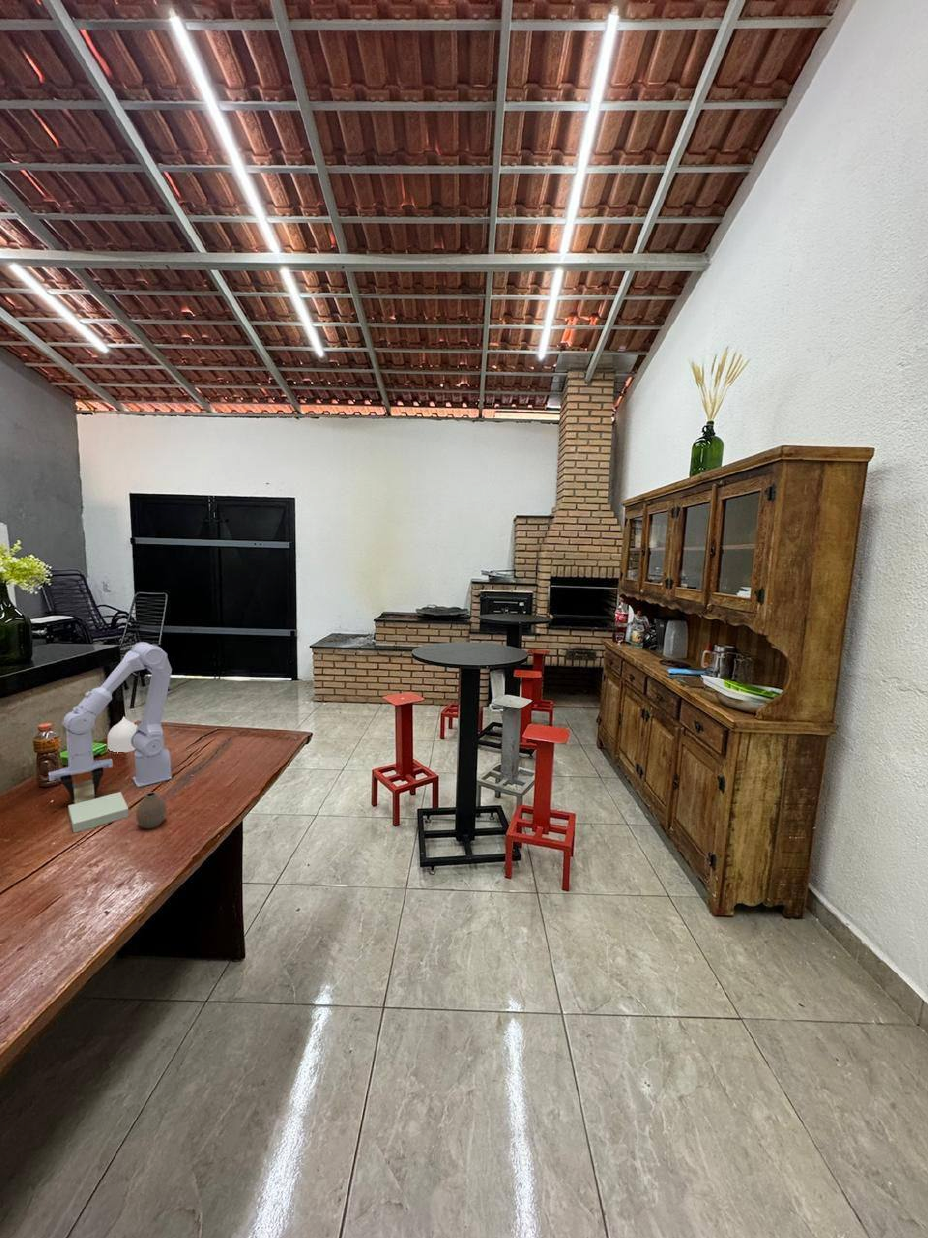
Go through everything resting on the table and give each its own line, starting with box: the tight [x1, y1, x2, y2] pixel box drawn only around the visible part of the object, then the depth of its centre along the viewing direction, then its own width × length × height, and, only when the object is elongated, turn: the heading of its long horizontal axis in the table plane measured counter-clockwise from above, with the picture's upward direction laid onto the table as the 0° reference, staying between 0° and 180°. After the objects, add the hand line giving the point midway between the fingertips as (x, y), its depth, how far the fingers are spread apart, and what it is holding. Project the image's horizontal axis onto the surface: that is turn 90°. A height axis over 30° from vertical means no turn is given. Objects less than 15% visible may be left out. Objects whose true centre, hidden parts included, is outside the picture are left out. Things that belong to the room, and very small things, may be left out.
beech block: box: [73, 779, 96, 804], centre depth 142 cm, size 4×4×5 cm
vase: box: [135, 791, 168, 829], centre depth 132 cm, size 7×7×9 cm
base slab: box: [67, 791, 130, 834], centre depth 135 cm, size 12×12×2 cm
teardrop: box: [107, 716, 138, 754], centre depth 179 cm, size 11×11×12 cm
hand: (83, 796), depth 143 cm, fingers closed on beech block, 4 cm apart
